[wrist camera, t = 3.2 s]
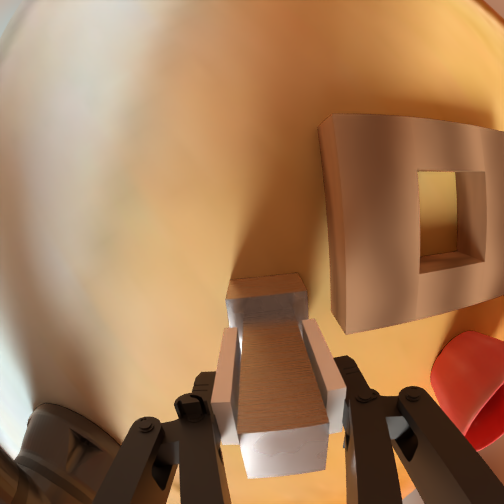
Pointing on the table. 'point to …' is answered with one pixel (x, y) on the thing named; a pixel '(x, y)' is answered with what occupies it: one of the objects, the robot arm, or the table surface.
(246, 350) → the grey stepped bar
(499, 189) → the well block
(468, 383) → the flower pot
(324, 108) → the table surface
